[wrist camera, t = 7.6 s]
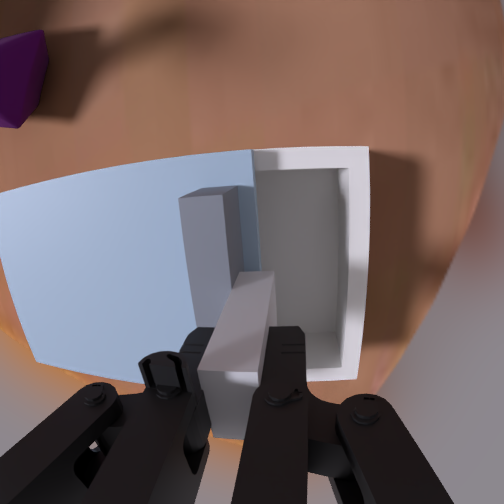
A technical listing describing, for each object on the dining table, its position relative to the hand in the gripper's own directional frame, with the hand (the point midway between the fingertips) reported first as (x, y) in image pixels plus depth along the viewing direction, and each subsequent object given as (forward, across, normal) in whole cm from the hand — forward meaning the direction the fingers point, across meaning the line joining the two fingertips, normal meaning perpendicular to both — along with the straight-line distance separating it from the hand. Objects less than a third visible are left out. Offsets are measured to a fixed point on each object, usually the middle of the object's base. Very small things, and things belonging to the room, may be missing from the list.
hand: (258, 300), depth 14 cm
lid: (+2, -9, 0) cm, 9 cm away
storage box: (+7, -4, 0) cm, 8 cm away
